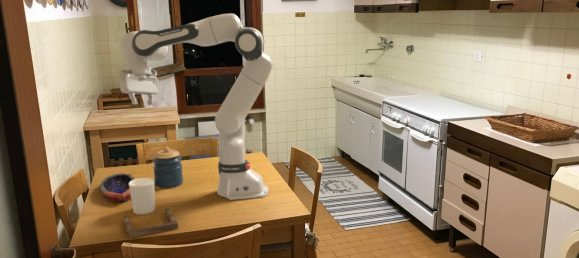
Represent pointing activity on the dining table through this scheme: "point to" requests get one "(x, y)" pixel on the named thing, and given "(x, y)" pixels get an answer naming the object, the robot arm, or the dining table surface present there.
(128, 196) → the dish
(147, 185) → the candle holder
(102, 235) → the dining table surface
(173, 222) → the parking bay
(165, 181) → the canister
